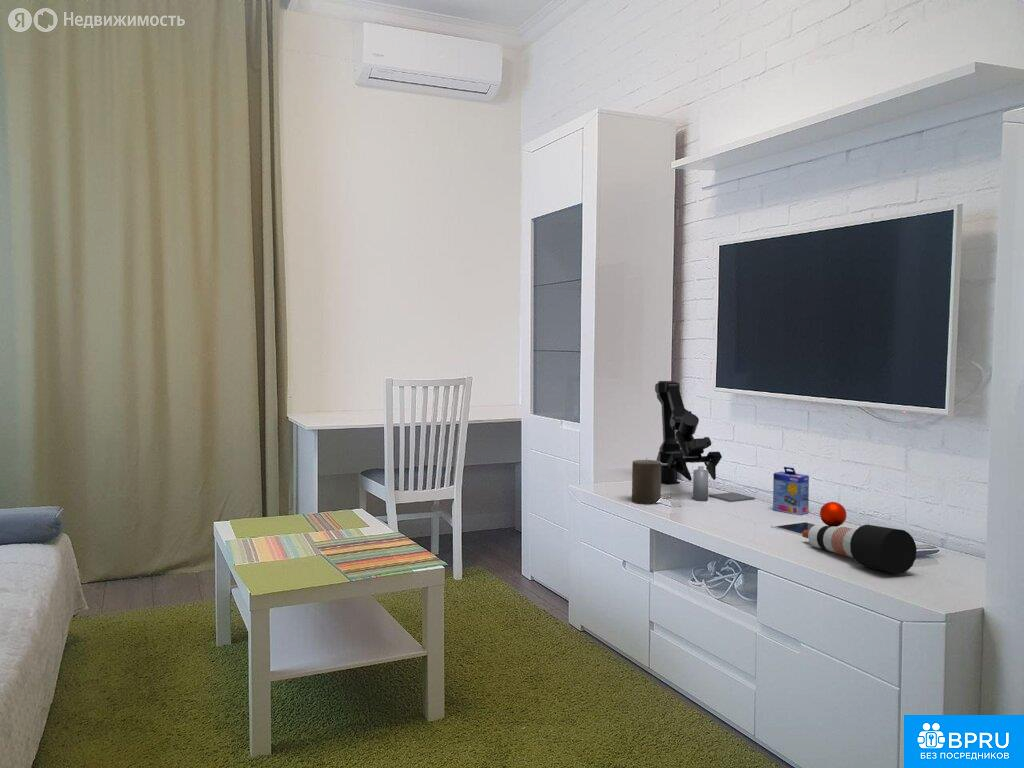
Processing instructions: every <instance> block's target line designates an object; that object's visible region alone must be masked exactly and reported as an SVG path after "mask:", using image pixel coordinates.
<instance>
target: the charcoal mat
mask: <svg viewBox="0 0 1024 768" xmlns="http://www.w3.org/2000/svg"><path fill="white" fill-rule="evenodd" d="M709 497H710V498H713V499H717V500H721V501H724V502H728V503H733V502H742V501H752V500H756V498H755V497H754V496H749V495H745V494H743V493H742V494H741V493H737V492H733V491H731V492H723V493H711V494H708V498H709Z"/></svg>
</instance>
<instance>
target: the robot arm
mask: <svg viewBox="0 0 1024 768" xmlns="http://www.w3.org/2000/svg"><path fill="white" fill-rule="evenodd" d="M680 386H681V385H680V383H679V382H677V381H675V380H659V381H658V382H657V383H655V385H654V392H655V393H656V398H657V400H658V402H659V403H660V405H661V422H662V438H663V439H662V443H661V444H660V447H659V451H658V454H657V456H656V461H660V462H661V484H664V483H665V484H664V485H672V484H675V485H676V484H680V483H681V482H680V481H679V480H678V473H679V474H681V475H682V476H683V477H684V478H685V479H686V480H688V481H689V482H691V481H693V480H692V479H693V478H692V476H691V473H690V471H689V469H688V465H687V463H691V464H695V463H704V466H705V470H708V475H710V477H711V478H712V480H713V481H715V480H716V479H717V473H716V472H717V470H716V468H717V466H718V464H719V463H720V461H721V459H722V458H723V456H722V454H721V452H720V451H708V452H707V455H703V454H704V452H705V449H708V448H710V447H711V446H712V441H711V438H710V437H709V436H704V437H702V438H695V437H694V435H695V434H696V431H697V428H698V424H699V422H700V418H699V417H698V415H696V414H694V413H692V411H689V410H688V409H686V408H685V405H684V402H683V399H682V394H681V390H680Z"/></svg>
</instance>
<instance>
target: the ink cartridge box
mask: <svg viewBox="0 0 1024 768" xmlns="http://www.w3.org/2000/svg"><path fill="white" fill-rule="evenodd" d="M783 469H784V471H779V472H778V471H776V472H774V473H773V479H772V481H773V482H772V483H773V484H772V485H773V487H772V488H773V490H772V496H773V497H772V510H773V511H777V512H780V513H782V512H783V513H787V514H792V515H796V514H797V515H796V516H801V515H805V514H809V509H810V508H809V498H810V497H809V496H810V495H809V494H810V493H809V491H810V490H809V488H810V486H809V485H810V484H809V483H810V476H809V475H808V474H802V473H797V472H796V470H795V468H794V467H790V466H789V467H787V466H783Z"/></svg>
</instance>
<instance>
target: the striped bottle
mask: <svg viewBox="0 0 1024 768" xmlns="http://www.w3.org/2000/svg"><path fill="white" fill-rule="evenodd" d="M823 525H824V524H821V525H814V526H813V527H812V528H811V529H810V530H803V532H802V534H803V535H802V536H801V537H802V538H805V539H808V543H809V544H810V545H811V546H812V547H814V548H816V549H821V550H824V551H828V552H830V553H836V554H837V555H840V556H845V557H848V558H853V560H854V561H855V562H856V564H858V565H860V566H862V567H866V568H869V569H874V570H878V571H883V572H887V573H891V574H895V575H896V574H905V573H906V572H908V571H909V570H910V569H911V568H912V567H913V565H914V563H915V561H916V559H917V551H918V550H917V545H916V541H915V539H914V538H913V536H912V535H911V534H910V533H909V532H907V531H906V530H905V529H899V528H892V527H887V526H879V525H872V524H863V525H860V526H859V527H858V528H852V527H846V526H837V527H835V526H833V527H831V526H828V525H825V526H823Z"/></svg>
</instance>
